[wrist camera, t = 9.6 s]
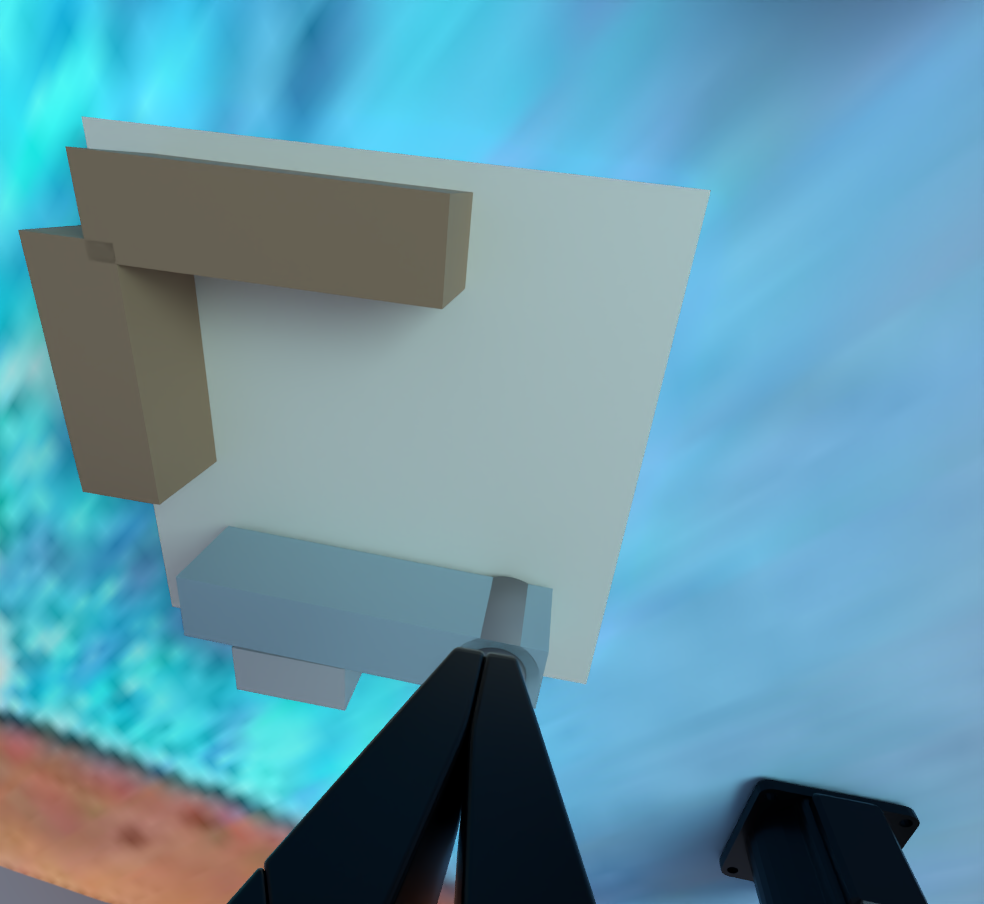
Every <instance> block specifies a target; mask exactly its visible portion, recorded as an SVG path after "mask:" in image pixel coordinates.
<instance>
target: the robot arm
mask: <svg viewBox="0 0 984 904" xmlns="http://www.w3.org/2000/svg"><path fill="white" fill-rule="evenodd" d="M460 817H461V819H460ZM459 822H460V829H459V840H458V851H457V866H456V882H455V898H454V904H596V902H595V899H594V896H593V892H592V889H591V886H590V883H589V880H588V877H587V874H586V871H585V868H584V865H583V861H582V858H581V855H580V852H579V849H578V846H577V843H576V840H575V837H574V833H573V830H572V827H571V824H570V821H569V818H568V815H567V812H566V809H565V805H564V802H563V799H562V796H561V793H560V790H559V787H558V784H557V781H556V777H555V774H554V771H553V768H552V765H551V762H550V759H549V756H548V753H547V750H546V746H545V743H544V740H543V737H542V734H541V731H540V728H539V725H538V722H537V718H536V715H535V712H534V709H533V706H532V703H531V700H530V697H529V694H528V690H527V687H526V684H525V681H524V678H523V675H522V672H521V669H520V666H519V663H518V660H517V659H516V658H515V657H514V656H510V655H505V654H499V653H493V652H490V653H488V654H487V655H486V657H485V654H484V652H483V651H481V650H476V649H470V648H464V647H456V648H454V649H453V650H452V651H451V652H450V653H449V654H448V656H447V657H446V658H445V659H444V660H443V661H442V662H441V663H440V665H439V666H438V667H437V668H436V669H435V670H434V671H433V672H432V674H431V675H430V676H429V677H428V678H427V679H426V680H425V681H424V683H423V684H422V685H421V686H420V687H419V688H418V689H417V690H416V692H415V693H414V694H413V695H412V696H411V697H410V698H409V700H408V701H407V702H406V703H405V704H404V705H403V706H402V707H401V709H400V710H399V711H398V712H397V713H396V714H395V715H394V716H393V718H392V719H391V720H390V721H389V722H388V723H387V724H386V725H385V727H384V728H383V729H382V730H381V731H380V732H379V733H378V734H377V736H376V737H375V738H374V739H373V740H372V741H371V742H370V743H369V745H368V746H367V747H366V748H365V749H364V750H363V751H362V752H361V754H360V755H359V756H358V757H357V758H356V759H355V760H354V761H353V763H352V764H351V765H350V766H349V767H348V768H347V769H346V770H345V772H344V773H343V774H342V775H341V776H340V777H339V778H338V779H337V781H336V782H335V783H334V784H333V785H332V786H331V787H330V788H329V790H328V791H327V792H326V793H325V794H324V795H323V796H322V797H321V799H320V800H319V801H318V802H317V803H316V804H315V805H314V806H313V808H312V809H311V810H310V811H309V812H308V813H307V814H306V815H305V817H304V818H303V819H302V820H301V821H300V822H299V823H298V824H297V826H296V827H295V828H294V829H293V830H292V831H291V832H290V833H289V835H288V836H287V837H286V838H285V839H284V840H283V841H282V842H281V844H280V845H279V846H278V847H277V848H276V849H275V850H274V852H273V853H272V854H271V855H270V856H269V857H268V858H267V859H266V861H265V863H264V869H265V871H264V869H263V868H259V869H257V870H256V871H255V872H254V874H253V875H252V876H251V877H250V878H249V879H248V880H247V881H246V883H245V884H244V885H243V886H242V887H241V888H240V889H239V890H238V892H237V893H236V894H235V895H234V896H233V897H232V898H231V899H230V901H229V902H228V903H227V904H437V903H438V899H439V896H440V892H441V889H442V885H443V882H444V878H445V875H446V871H447V868H448V864H449V861H450V857H451V854H452V850H453V847H454V843H455V839H456V835H457V831H458V827H459ZM919 824H920V822H919V820H918V818H917V816H916V814H915V812H914V810H912V809H911V808H909V807H906V806H901V805H896V804H891V803H886V802H881V801H875V800H870V799H865V798H860V797H855V796H850V795H845V794H840V793H835V792H830V791H824V790H819V789H814V788H809V787H804V786H799V785H794V784H789V783H784V782H779V781H773V780H763V781H760V782H758V783H757V785H756V786H755V788H754V790H753V792H752V794H751V796H750V798H749V800H748V802H747V804H746V806H745V808H744V811H743V813H742V815H741V817H740V819H739V821H738V823H737V825H736V827H735V829H734V831H733V833H732V835H731V837H730V839H729V841H728V843H727V845H726V847H725V849H724V851H723V853H722V855H721V857H720V860H719V862H720V867H721V871H722V873H723V874H725V875H727V876H730V877H735V878H740V879H745V880H749V881H754V883H755V887H756V891H757V895H758V899H759V903H760V904H928V903H927V901H926V899H925V897H924V895H923V892H922V890H921V888H920V886H919V884H918V882H917V880H916V878H915V876H914V874H913V872H912V870H911V868H910V866H909V864H908V862H907V860H906V858H905V856H904V854H903V851H902V848H903V847H904V845H905V844H906V843H907V841H908V840H909V839H910V837H911V836H912V834H913V833H914V832H915V830H916V829H917V828H918V826H919Z"/></svg>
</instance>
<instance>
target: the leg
mask: <svg viewBox="0 0 984 904" xmlns="http://www.w3.org/2000/svg"><path fill="white" fill-rule="evenodd" d="M176 582H177V588H178V595H179V602H180V608H181V615H182V622H183V628H184V635H185V636H189V637H194V638H199V639H204V640H209V641H213V642H218V643H223V644H228V645H233V646H237V647H242V648H247V649H252V650H257V651H261V652H266V653H271V654H276V655H281V656H285V657H290V658H295V659H300V660H304V661H309V662H314V663H319V664H324V665H328V666H333V667H338V668H343V669H348V670H352V671H357V672H362V673H367V674H372V675H376V676H381V677H386V678H391V679H396V680H400V681H405V682H410V683H415V684H419V685H422V684H423V683H424V681H425V680H426V679H427V678H428V677H429V676H430V675H431V674H432V672H433V671H434V670H435V669H436V668H437V667H438V666H439V665H440V663H441V662H442V661H443V660H444V659H445V658H446V657H447V656H448V654H449V653H450V652H451V651H452V650H453V649H454V648H456V647H464V648H470V649H476V650H481V651H483V652H484V654H485V657H486V655H487V654H488V653H490V652H493V653H499V654H505V655H510V656H514V657H515V658H516V659H517V660H518V663H519V666H520V669H521V672H522V675H523V678H524V681H525V684H526V687H527V690H528V694H529V697H530V700H531V703H532V706H533V708H534V709H535V708H536V704H537V700H538V695H539V691H540V687H541V683H542V678H543V674H544V670H545V666H546V661H547V657H548V653H549V639H550V624H551V608H552V592H553V589H552V588H546V587H541V586H536V585H531V584H527V583H526V582H524V581H522V580H519V579H516V578H512V577H506V576H499V577H490V576H484V575H479V574H474V573H469V572H464V571H459V570H453V569H448V568H443V567H438V566H433V565H428V564H422V563H417V562H412V561H407V560H402V559H397V558H391V557H386V556H381V555H376V554H371V553H366V552H360V551H355V550H350V549H345V548H340V547H335V546H329V545H324V544H319V543H314V542H309V541H304V540H298V539H293V538H288V537H283V536H278V535H273V534H267V533H262V532H257V531H252V530H247V529H242V528H236V527H231V526H228V527H227V528H226V529H225V530H224V531H223V532H222V533H221V534H220V535H218V536H217V537H216V538H215V539H214V540H213V541H212V542H211V543H210V544H209V545H208V546H207V547H206V548H205V549H204V550H203V551H202V552H201V553H200V554H199V555H198V556H197V557H196V558H195V559H194V560H193V561H192V562H191V563H190V564H189V565H188V566H186V567H185V568H184V569H183V570H182V571H181V572H180V573H179V574H178V575H177V576H176Z"/></svg>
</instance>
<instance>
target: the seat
mask: <svg viewBox="0 0 984 904" xmlns="http://www.w3.org/2000/svg"><path fill="white" fill-rule="evenodd" d="M82 121H83V126H84V132H85V137H86V143H87V148H77V147H66V151H67V156H68V161H69V166H70V171H71V176H72V181H73V186H74V191H75V196H76V201H77V206H78V211H79V216H80V221H81V225H78V226H65V227H52V228H39V229H26V230H18V231H19V235H20V239H21V243H22V247H23V251H24V255H25V259H26V263H27V267H28V271H29V275H30V280H31V284H32V288H33V292H34V296H35V300H36V304H37V308H38V312H39V316H40V320H41V324H42V328H43V332H44V336H45V340H46V344H47V348H48V352H49V357H50V361H51V365H52V369H53V373H54V377H55V381H56V385H57V389H58V393H59V397H60V401H61V405H62V409H63V413H64V417H65V421H66V425H67V429H68V434H69V438H70V442H71V446H72V450H73V454H74V458H75V462H76V466H77V470H78V474H79V478H80V482H81V486H82V490H83V492H88V493H94V494H100V495H105V496H111V497H117V498H123V499H128V500H134V501H140V502H146V503H152V504H153V505H154V510H155V516H156V521H157V526H158V532H159V537H160V543H161V548H162V553H163V559H164V564H165V570H166V575H167V580H168V586H169V591H170V597H171V602H172V606H173V607H178V608H180V602H179V595H178V588H177V582H176V576H177V575H178V574H179V573H180V572H181V571H182V570H183V569H184V568H185V567H186V566H188V565H189V564H190V563H191V562H192V561H193V560H194V559H195V558H196V557H197V556H198V555H199V554H200V553H201V552H202V551H203V550H204V549H205V548H206V547H207V546H208V545H209V544H210V543H211V542H212V541H213V540H214V539H215V538H216V537H217V536H218V535H220V534H221V533H222V532H223V531H224V530H225V529H226V528H227V527H228V526H231V527H236V528H242V529H247V530H252V531H257V532H262V533H267V534H273V535H278V536H283V537H288V538H293V539H298V540H304V541H309V542H314V543H319V544H324V545H329V546H335V547H340V548H345V549H350V550H355V551H360V552H366V553H371V554H376V555H381V556H386V557H391V558H397V559H402V560H407V561H412V562H417V563H422V564H428V565H433V566H438V567H443V568H448V569H453V570H459V571H464V572H469V573H474V574H479V575H484V576H490V577H499V576H506V577H512V578H516V579H519V580H522V581H524V582H526V583H527V584H531V585H536V586H541V587H546V588H552V589H553V592H552V608H551V624H550V639H549V653H548V657H547V661H546V666H545V670H544V674H543V676H545V677H551V678H556V679H561V680H567V681H572V682H577V683H583V684H586V682H587V678H588V674H589V671H590V667H591V663H592V659H593V655H594V651H595V647H596V643H597V639H598V635H599V631H600V627H601V623H602V619H603V615H604V611H605V607H606V603H607V599H608V595H609V591H610V587H611V583H612V579H613V575H614V571H615V567H616V564H617V560H618V556H619V552H620V548H621V544H622V540H623V536H624V532H625V528H626V524H627V520H628V516H629V512H630V508H631V504H632V500H633V496H634V492H635V488H636V484H637V480H638V476H639V472H640V468H641V464H642V460H643V457H644V453H645V449H646V445H647V441H648V437H649V433H650V429H651V425H652V421H653V417H654V413H655V409H656V405H657V401H658V397H659V393H660V389H661V385H662V381H663V377H664V373H665V369H666V365H667V361H668V357H669V353H670V350H671V346H672V342H673V338H674V334H675V330H676V326H677V322H678V318H679V314H680V310H681V306H682V302H683V298H684V294H685V290H686V286H687V282H688V278H689V274H690V270H691V266H692V262H693V258H694V254H695V250H696V246H697V242H698V239H699V235H700V231H701V227H702V223H703V219H704V215H705V211H706V207H707V203H708V199H709V195H710V191H711V190H703V189H695V188H686V187H678V186H669V185H661V184H652V183H644V182H635V181H627V180H618V179H610V178H601V177H593V176H584V175H576V174H567V173H558V172H550V171H541V170H533V169H524V168H516V167H507V166H499V165H490V164H482V163H473V162H465V161H456V160H448V159H439V158H431V157H422V156H414V155H405V154H397V153H388V152H380V151H371V150H363V149H354V148H346V147H337V146H328V145H320V144H311V143H303V142H294V141H286V140H277V139H269V138H260V137H252V136H243V135H235V134H226V133H218V132H209V131H201V130H192V129H184V128H175V127H167V126H158V125H150V124H141V123H133V122H124V121H115V120H107V119H98V118H90V117H82ZM232 653H233V661H234V669H235V676H236V684H237V689H239V690H244V691H249V692H254V693H259V694H264V695H269V696H274V697H279V698H284V699H289V700H294V701H300V702H305V703H310V704H315V705H320V706H325V707H330V708H335V709H340V710H346V707H347V705H348V703H349V701H350V698H351V696H352V694H353V692H354V689H355V687H356V685H357V683H358V680H359V678H360V676H361V674H362V672H357V671H352V670H348V669H343V668H338V667H333V666H328V665H324V664H319V663H314V662H309V661H304V660H300V659H295V658H290V657H285V656H281V655H276V654H271V653H266V652H261V651H257V650H252V649H247V648H242V647H237V646H233V647H232Z"/></svg>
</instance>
